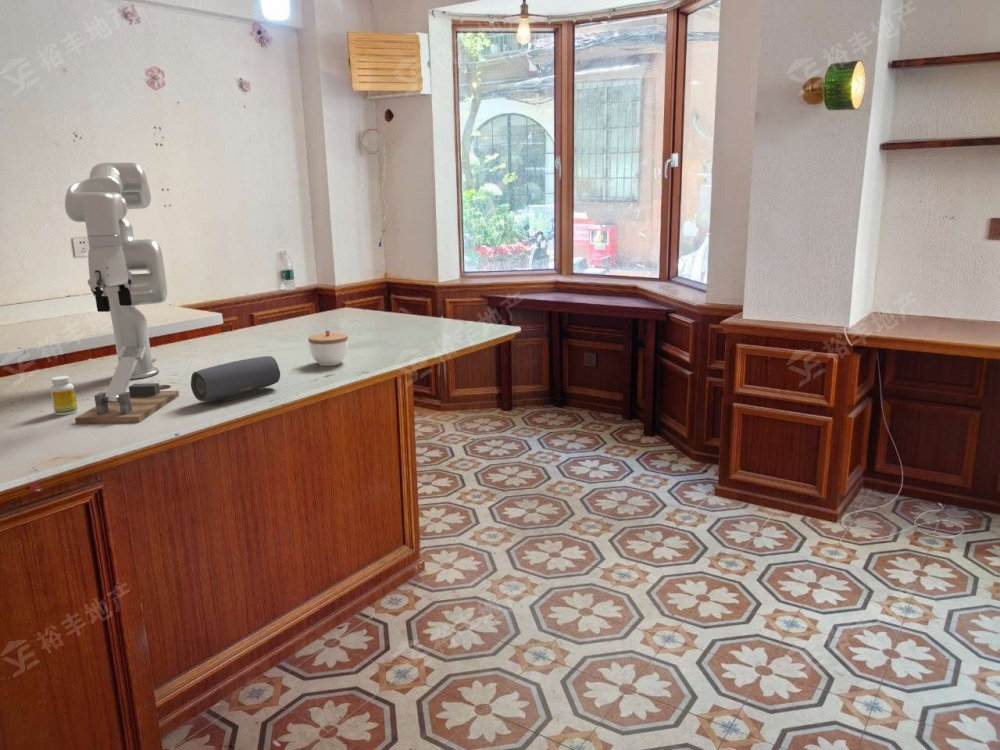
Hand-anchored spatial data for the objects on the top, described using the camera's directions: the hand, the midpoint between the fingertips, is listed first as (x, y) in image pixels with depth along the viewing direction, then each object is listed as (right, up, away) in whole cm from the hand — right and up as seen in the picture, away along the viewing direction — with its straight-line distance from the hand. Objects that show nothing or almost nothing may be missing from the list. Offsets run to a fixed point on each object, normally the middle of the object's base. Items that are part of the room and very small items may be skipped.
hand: (115, 308), depth 193 cm
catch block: (+2, -23, +12) cm, 26 cm away
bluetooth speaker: (+28, -24, +13) cm, 39 cm away
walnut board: (+2, -27, +3) cm, 27 cm away
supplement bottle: (-14, -28, +1) cm, 31 cm away
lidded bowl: (+45, -14, +50) cm, 69 cm away
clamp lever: (+2, -18, 0) cm, 18 cm away
